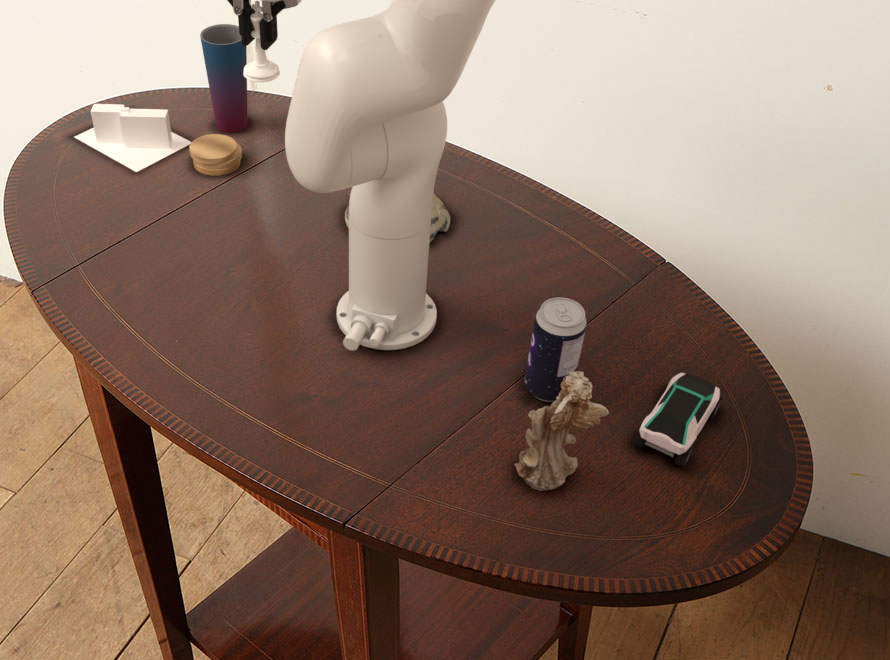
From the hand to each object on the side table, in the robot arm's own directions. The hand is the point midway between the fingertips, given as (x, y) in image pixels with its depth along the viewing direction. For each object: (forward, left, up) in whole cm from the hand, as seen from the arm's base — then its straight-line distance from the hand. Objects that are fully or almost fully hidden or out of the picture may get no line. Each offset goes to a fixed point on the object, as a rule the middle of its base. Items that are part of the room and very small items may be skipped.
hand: (259, 42), depth 131 cm
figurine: (-41, -52, -22) cm, 69 cm away
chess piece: (0, 0, -5) cm, 5 cm away
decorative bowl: (-2, -21, -22) cm, 30 cm away
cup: (+12, +12, -22) cm, 28 cm away
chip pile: (+1, +9, -21) cm, 23 cm away
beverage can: (-28, -49, -22) cm, 60 cm away
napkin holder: (+2, +24, -22) cm, 33 cm away
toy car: (-29, -64, -22) cm, 73 cm away
